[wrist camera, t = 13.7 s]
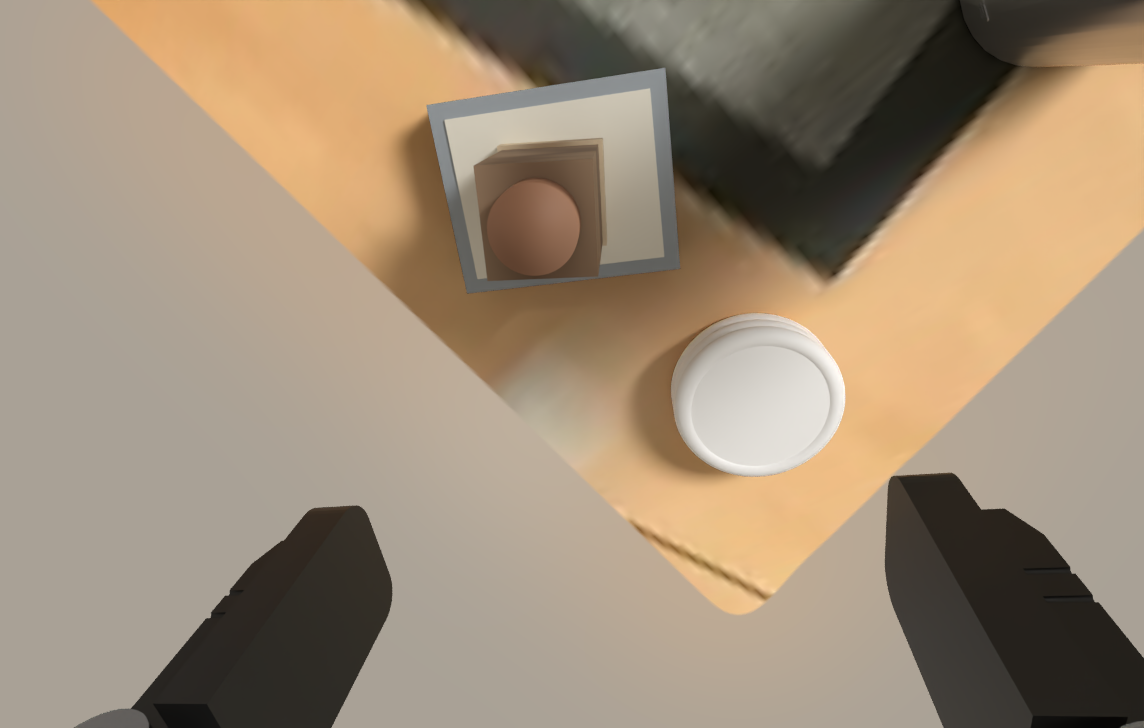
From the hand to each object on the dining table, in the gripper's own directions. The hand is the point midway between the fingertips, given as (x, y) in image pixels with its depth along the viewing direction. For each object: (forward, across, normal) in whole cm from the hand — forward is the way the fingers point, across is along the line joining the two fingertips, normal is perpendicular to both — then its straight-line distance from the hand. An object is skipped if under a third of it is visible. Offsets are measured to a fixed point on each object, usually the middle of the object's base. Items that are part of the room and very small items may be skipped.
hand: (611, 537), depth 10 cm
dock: (+29, +5, -2) cm, 29 cm away
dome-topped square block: (+26, +5, -1) cm, 26 cm away
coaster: (+30, -5, +13) cm, 32 cm away
